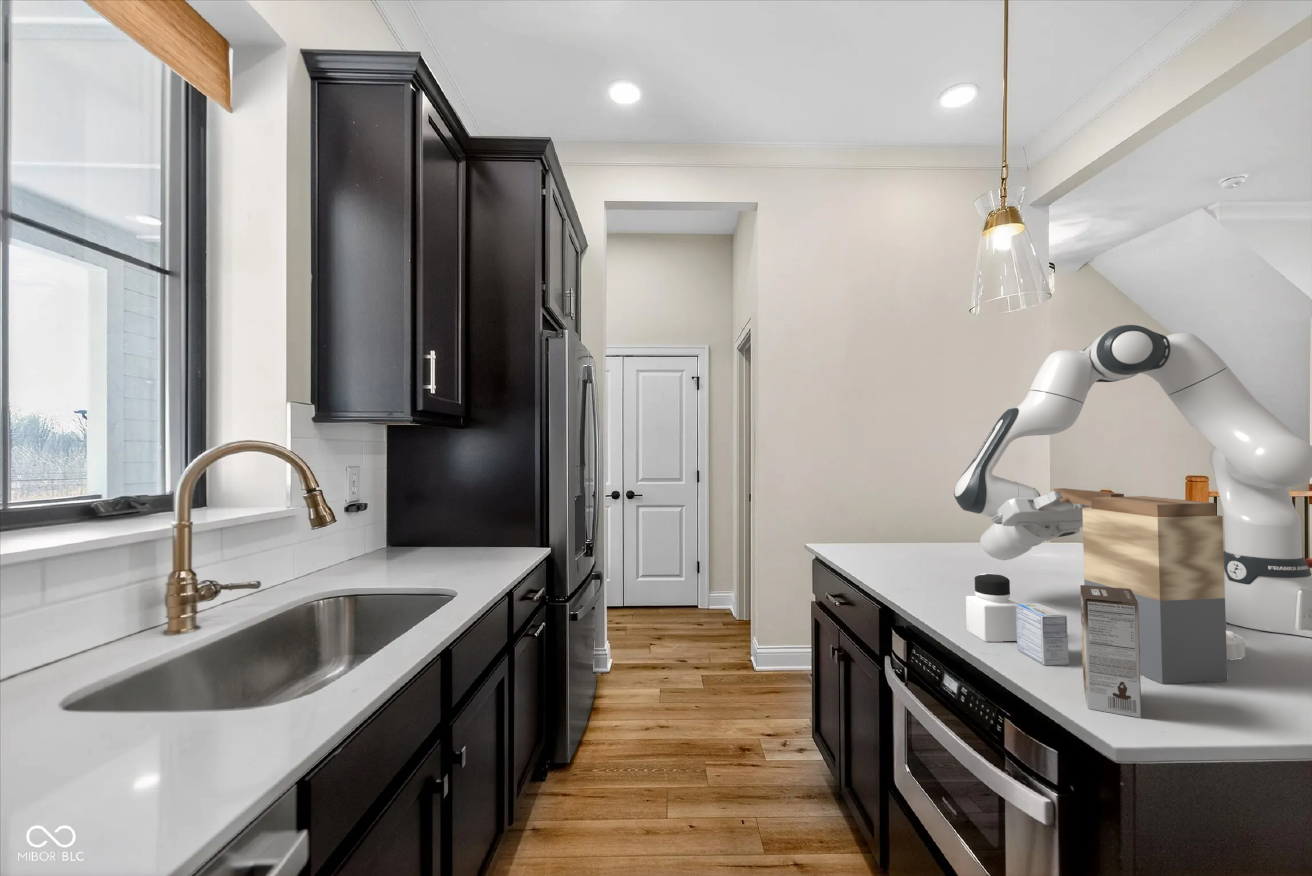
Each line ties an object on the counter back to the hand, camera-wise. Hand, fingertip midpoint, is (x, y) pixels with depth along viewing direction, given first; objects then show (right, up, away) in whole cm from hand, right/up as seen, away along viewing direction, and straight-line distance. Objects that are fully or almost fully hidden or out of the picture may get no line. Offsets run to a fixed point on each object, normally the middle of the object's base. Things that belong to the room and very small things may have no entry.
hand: (1075, 494), depth 117 cm
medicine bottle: (-16, -28, 0) cm, 32 cm away
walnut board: (+1, -2, -9) cm, 9 cm away
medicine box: (-14, -28, -12) cm, 34 cm away
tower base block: (+2, -27, -16) cm, 32 cm away
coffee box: (-16, -28, -30) cm, 44 cm away
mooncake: (+17, -28, -8) cm, 33 cm away
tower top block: (+1, -14, -16) cm, 22 cm away
